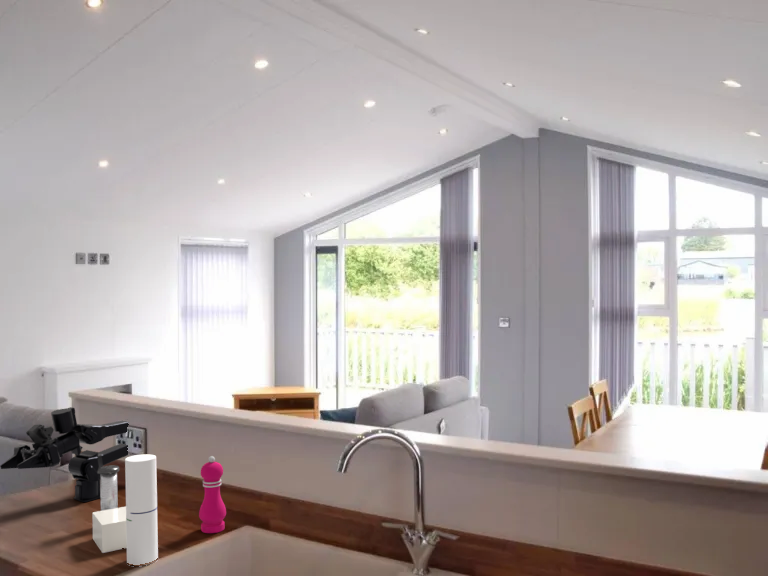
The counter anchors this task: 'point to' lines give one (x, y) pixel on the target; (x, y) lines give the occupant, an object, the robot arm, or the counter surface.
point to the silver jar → (108, 487)
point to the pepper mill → (212, 498)
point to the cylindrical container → (141, 509)
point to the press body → (110, 529)
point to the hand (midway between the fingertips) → (9, 467)
